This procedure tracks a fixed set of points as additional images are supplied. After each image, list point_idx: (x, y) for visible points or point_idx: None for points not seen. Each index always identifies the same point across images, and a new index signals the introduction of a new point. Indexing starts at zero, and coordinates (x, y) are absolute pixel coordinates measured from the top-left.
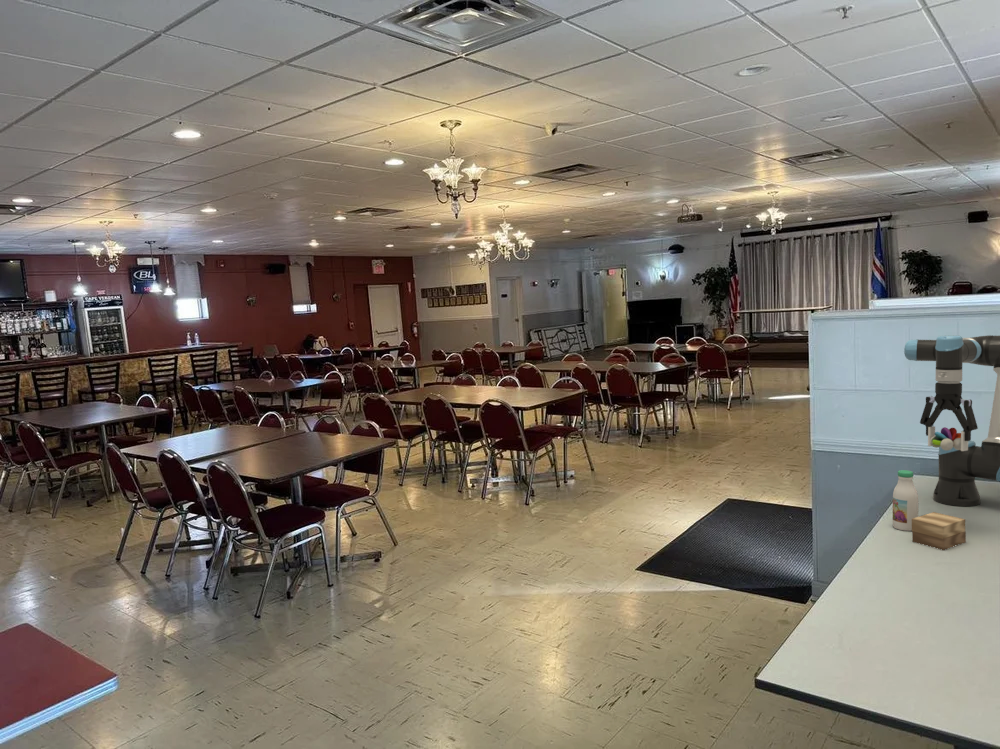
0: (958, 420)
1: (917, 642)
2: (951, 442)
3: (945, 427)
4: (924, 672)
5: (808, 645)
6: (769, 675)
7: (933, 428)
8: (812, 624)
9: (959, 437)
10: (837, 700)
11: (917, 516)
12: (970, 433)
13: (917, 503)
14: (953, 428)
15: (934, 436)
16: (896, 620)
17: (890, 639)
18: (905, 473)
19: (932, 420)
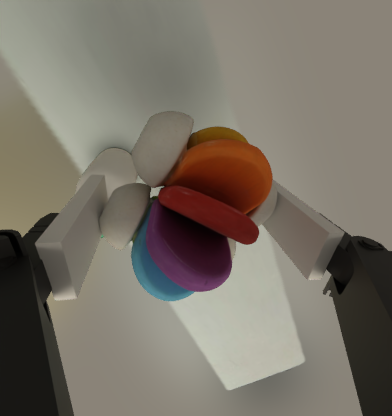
0: (350, 363)
1: (263, 342)
2: (234, 254)
3: (197, 285)
4: (274, 354)
5: (225, 372)
6: (228, 388)
7: (72, 253)
8: (213, 364)
9: (257, 205)
10: (256, 380)
11: (135, 173)
12: (346, 238)
13: (132, 182)
14: (240, 240)
15: (124, 247)
16: (244, 336)
17: (251, 348)
18: (103, 236)
19: (60, 359)
